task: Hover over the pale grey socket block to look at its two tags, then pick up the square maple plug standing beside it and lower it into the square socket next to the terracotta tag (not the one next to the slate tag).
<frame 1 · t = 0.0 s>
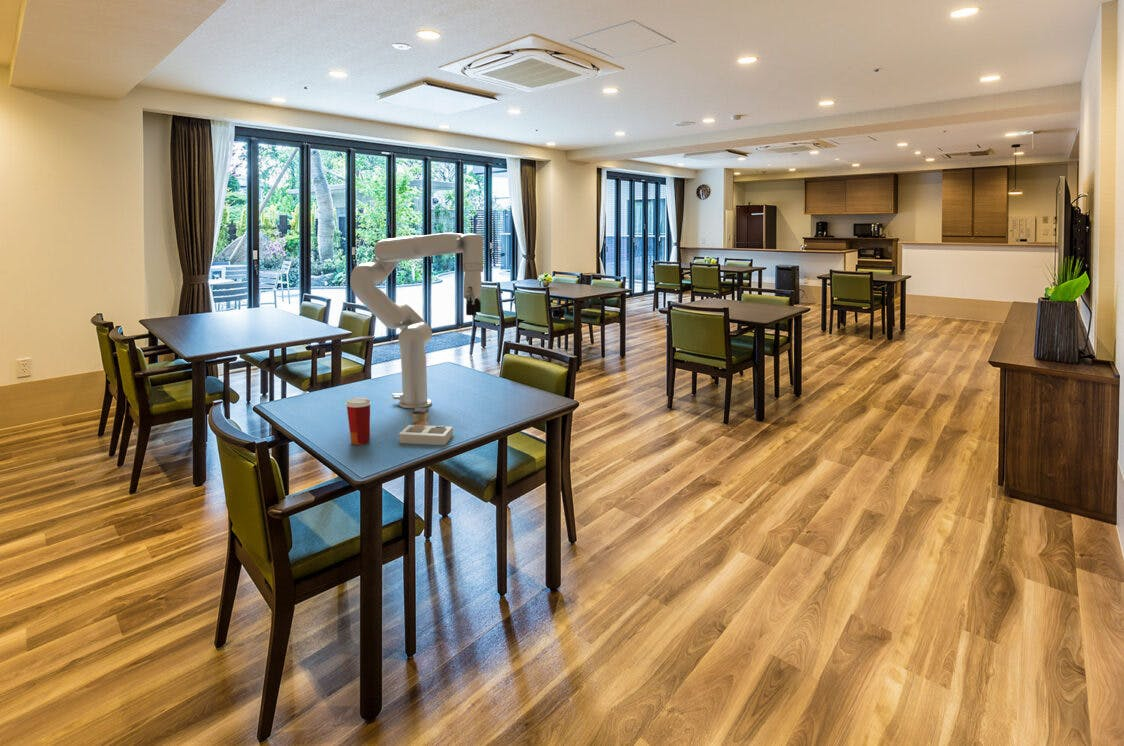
hand: (473, 313, 233), 37 cm above the table, tool pointing down, fingers open, 9 cm apart
plug: (421, 429, 213), on the table
socket block: (426, 439, 202), on the table
paper cup: (360, 442, 198), on the table
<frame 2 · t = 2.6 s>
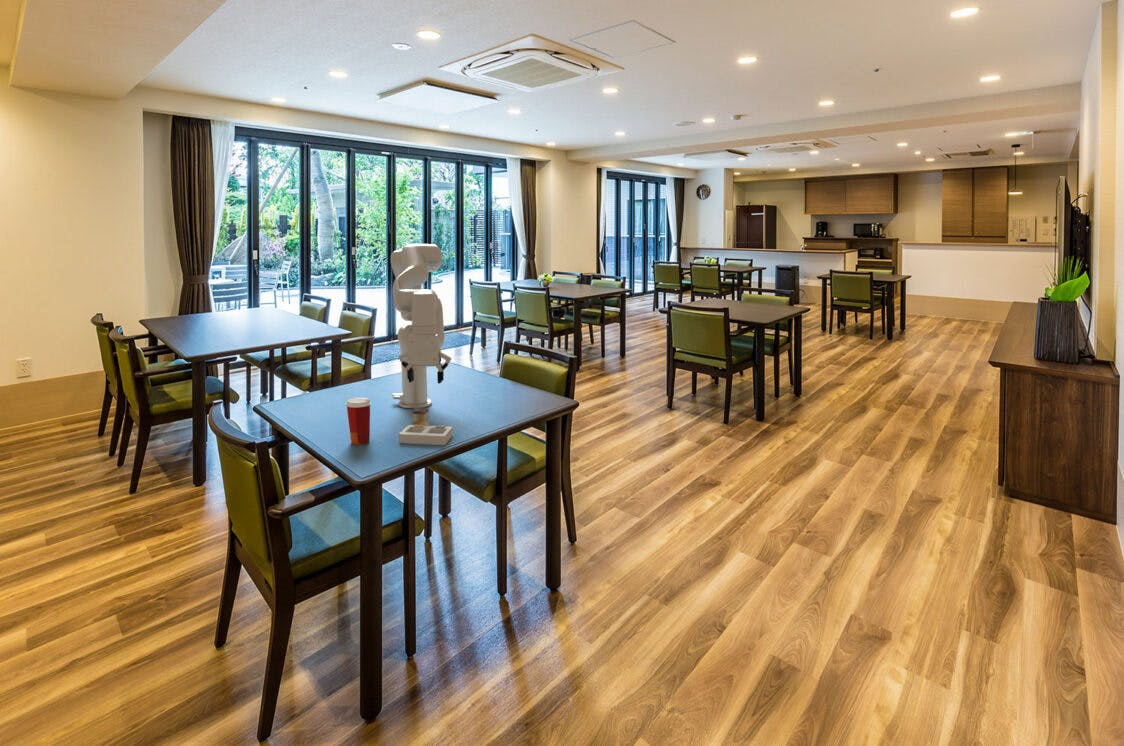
hand: (425, 382, 202), 18 cm above the table, tool pointing down, fingers open, 9 cm apart
nothing on the table moved.
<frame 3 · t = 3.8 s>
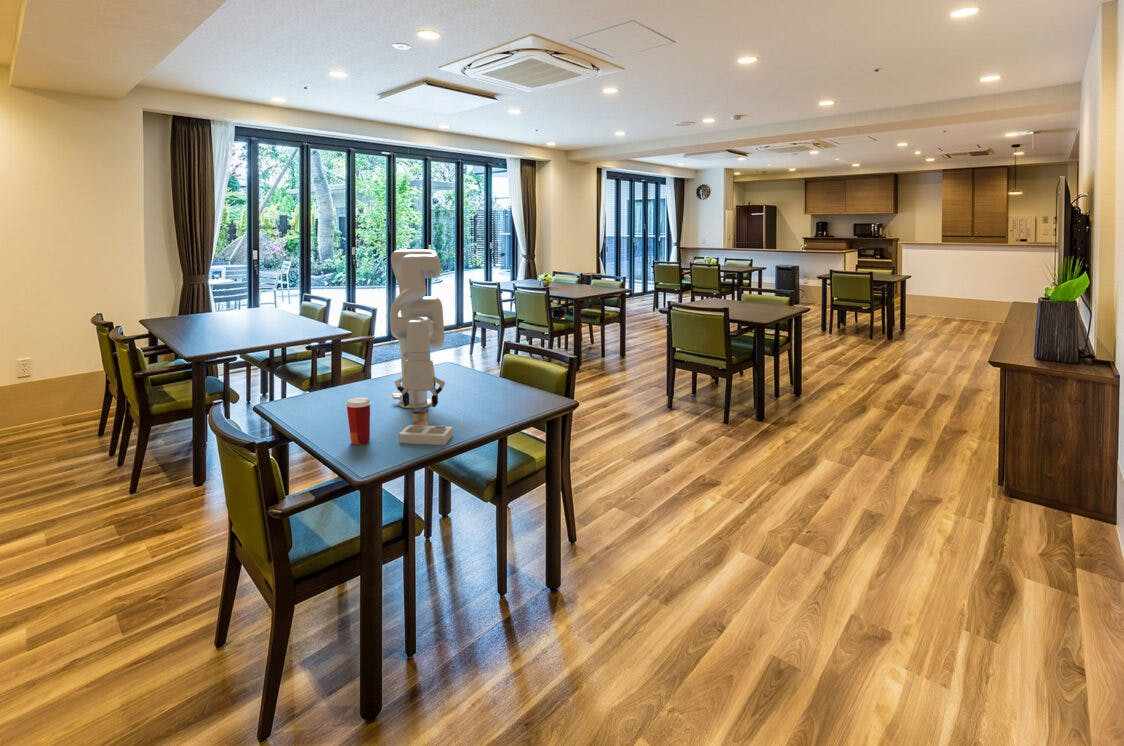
hand: (420, 405, 210), 9 cm above the table, tool pointing down, fingers open, 9 cm apart
nothing on the table moved.
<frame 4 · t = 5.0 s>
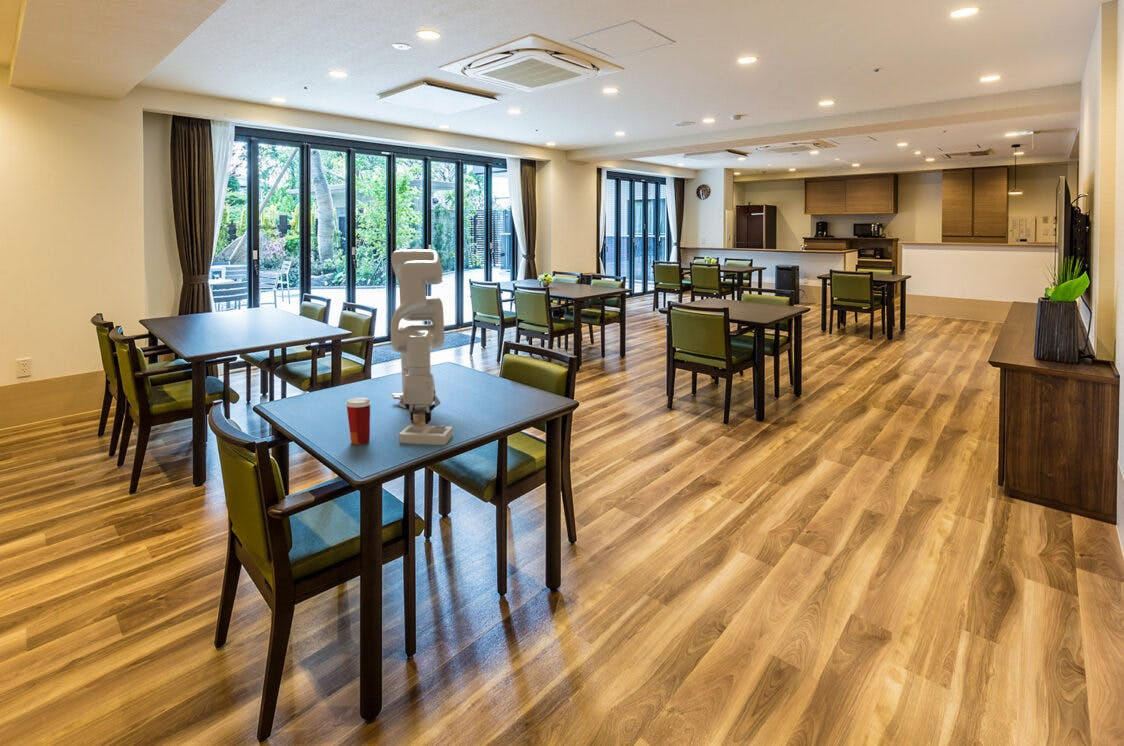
hand: (420, 422, 212), 3 cm above the table, tool pointing down, fingers closed on plug, 4 cm apart
plug: (421, 429, 212), on the table, touching gripper
everything else where it was.
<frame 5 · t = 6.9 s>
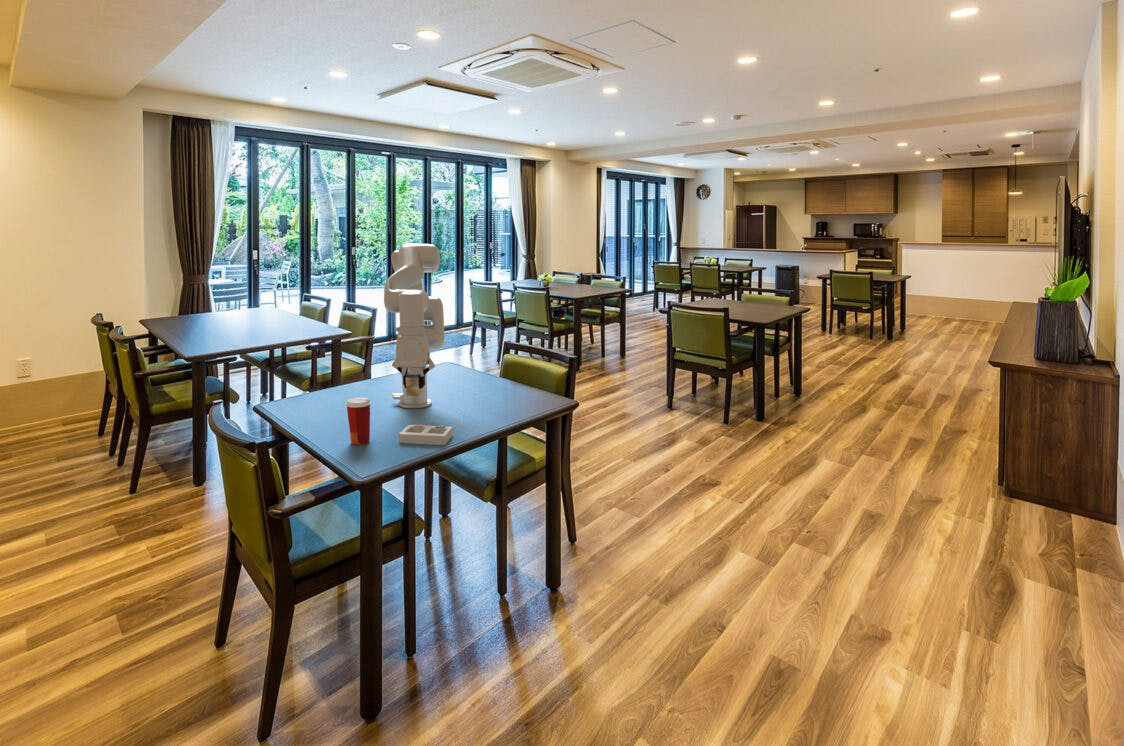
hand: (414, 386, 199), 18 cm above the table, tool pointing down, fingers closed on plug, 4 cm apart
plug: (414, 394, 199), point 15 cm above the table, touching gripper
everything else where it was.
when the fingers open (4 cm above the table, at t = 8.7 s): plug drops 1 cm, resting in socket block.
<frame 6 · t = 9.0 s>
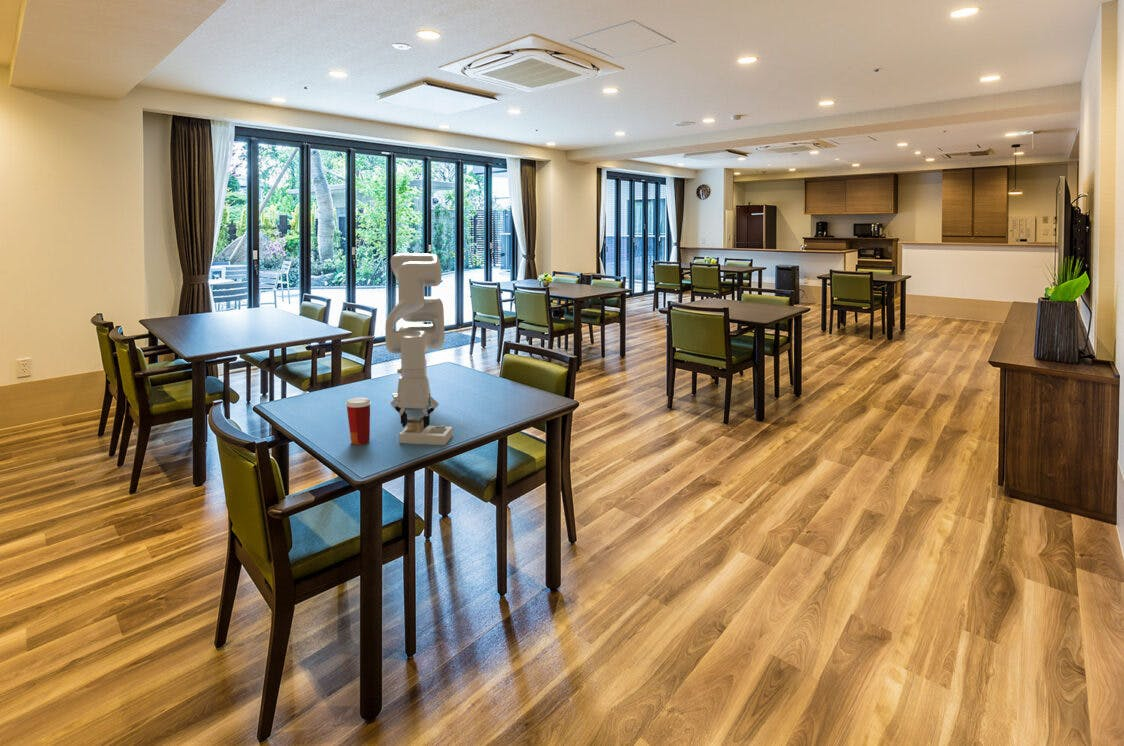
hand: (415, 425, 202), 4 cm above the table, tool pointing down, fingers open, 6 cm apart
plug: (415, 438, 203), resting in socket block
everything else where it was.
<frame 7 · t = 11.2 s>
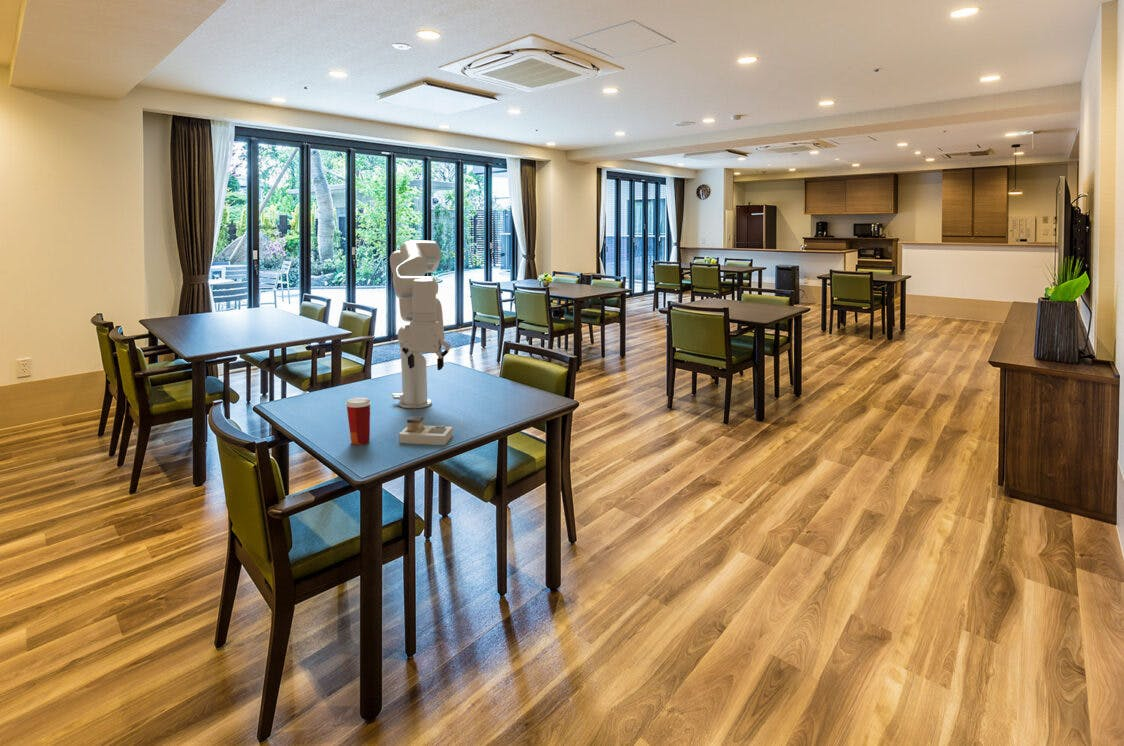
hand: (425, 368, 204), 22 cm above the table, tool pointing down, fingers open, 9 cm apart
nothing on the table moved.
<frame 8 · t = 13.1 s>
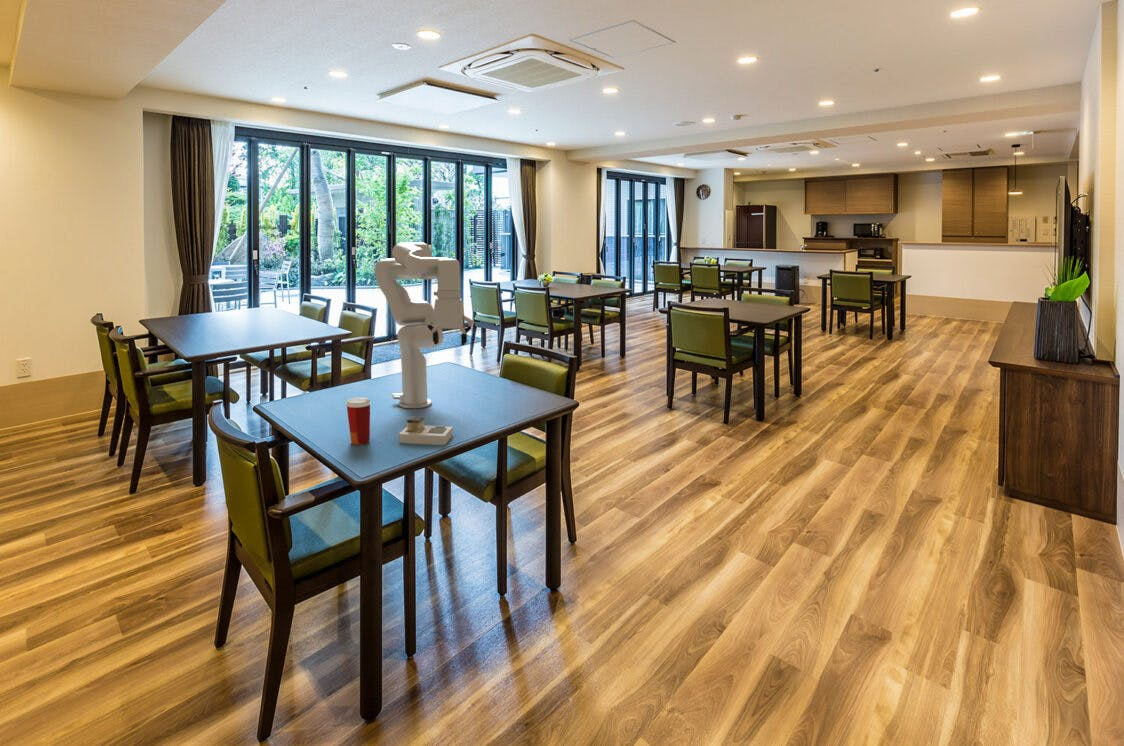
hand: (449, 344, 215), 28 cm above the table, tool pointing down, fingers open, 9 cm apart
nothing on the table moved.
at the end: plug 0.0 cm from the target spot on the socket block, point 0.0 cm above the socket block's base; plug tilted 0°; the gripper is holding nothing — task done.
